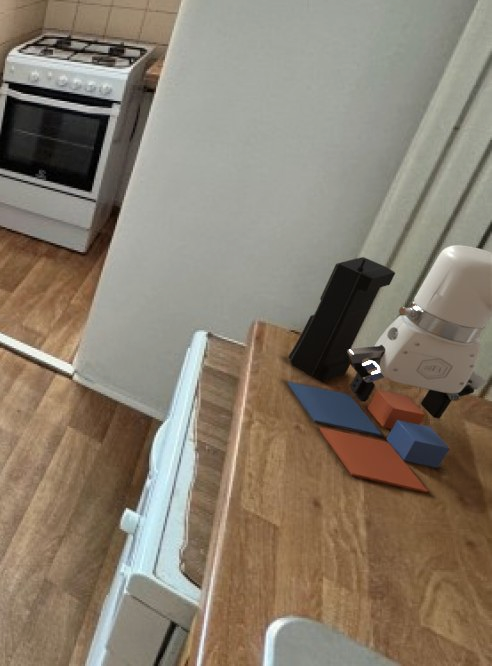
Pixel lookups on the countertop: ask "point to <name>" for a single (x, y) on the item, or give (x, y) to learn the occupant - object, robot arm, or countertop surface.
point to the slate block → (417, 443)
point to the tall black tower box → (339, 318)
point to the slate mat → (333, 408)
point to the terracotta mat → (372, 459)
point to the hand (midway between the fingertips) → (392, 403)
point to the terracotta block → (394, 409)
